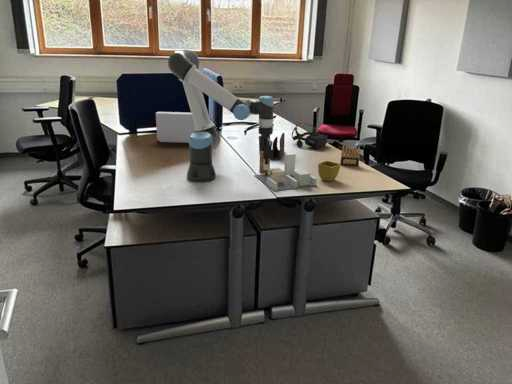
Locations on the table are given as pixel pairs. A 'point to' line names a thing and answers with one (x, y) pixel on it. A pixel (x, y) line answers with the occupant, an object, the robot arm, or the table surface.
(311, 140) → the virtual reality headset
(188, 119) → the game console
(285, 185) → the lane rack
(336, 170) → the flower pot
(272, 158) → the letter holder
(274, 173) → the birch block
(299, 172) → the sage block
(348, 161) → the ammunition clip
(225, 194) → the table surface
